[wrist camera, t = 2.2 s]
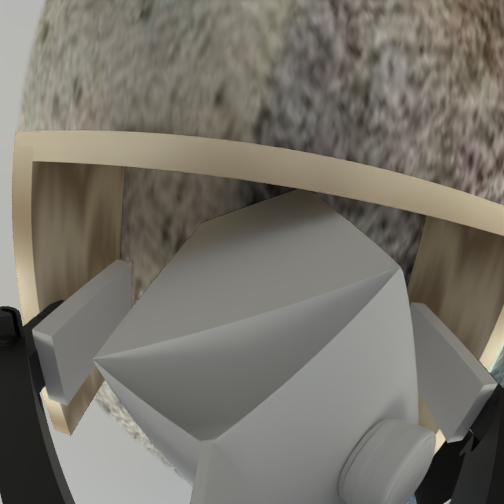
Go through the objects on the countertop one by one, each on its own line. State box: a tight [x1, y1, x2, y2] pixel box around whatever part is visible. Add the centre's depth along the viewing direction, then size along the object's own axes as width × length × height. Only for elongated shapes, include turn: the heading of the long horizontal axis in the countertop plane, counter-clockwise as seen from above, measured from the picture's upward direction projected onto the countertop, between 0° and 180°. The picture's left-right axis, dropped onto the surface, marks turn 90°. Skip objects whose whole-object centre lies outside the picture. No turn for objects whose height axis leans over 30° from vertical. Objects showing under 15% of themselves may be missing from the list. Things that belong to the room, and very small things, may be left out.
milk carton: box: [93, 189, 436, 504], centre depth 12 cm, size 7×7×19 cm
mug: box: [414, 430, 473, 504], centre depth 22 cm, size 12×9×10 cm
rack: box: [12, 130, 504, 456], centre depth 17 cm, size 17×23×10 cm
